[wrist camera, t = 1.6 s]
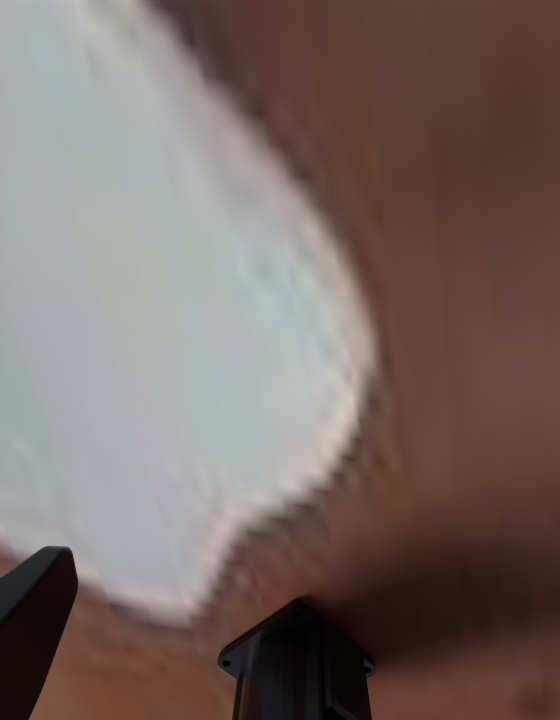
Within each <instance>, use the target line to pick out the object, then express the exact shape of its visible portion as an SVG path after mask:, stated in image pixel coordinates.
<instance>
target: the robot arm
mask: <svg viewBox="0 0 560 720" xmlns="http://www.w3.org/2000/svg"><path fill="white" fill-rule="evenodd" d="M77 591H78V578H77V573H76V568H75V563H74V558H73V553H72V550H71V549H70V548H69V547H65V546H46V547H44V548H42V549H40V550H39V551H37V552H36V553H35V554H33V555H32V556H30V557H29V558H27V559H26V560H25V561H23V562H22V563H20V564H19V565H18V566H16V567H15V568H13V569H12V570H10V571H9V572H8V573H6V574H5V575H3V576H2V577H1V578H0V720H29V717H30V715H31V713H32V711H33V709H34V707H35V704H36V702H37V700H38V698H39V695H40V693H41V691H42V688H43V686H44V683H45V680H46V678H47V675H48V673H49V670H50V667H51V664H52V662H53V659H54V656H55V653H56V650H57V648H58V645H59V642H60V639H61V637H62V634H63V631H64V628H65V626H66V623H67V620H68V617H69V614H70V612H71V609H72V606H73V603H74V601H75V598H76V595H77ZM218 665H219V666H220V667H221V668H222V669H223V670H225V671H226V672H227V673H229V674H230V675H232V676H233V677H234V678H236V679H237V686H236V694H235V702H234V710H233V717H232V720H372V717H371V709H370V702H369V695H368V687H367V680H366V679H367V678H368V677H370V676H372V675H373V674H374V673H375V672H376V668H375V661H374V660H373V659H372V658H371V657H370V656H368V655H367V654H366V653H365V652H364V651H362V650H361V649H360V648H359V647H358V646H356V645H355V644H354V643H353V642H351V641H350V640H349V639H348V638H346V637H345V636H344V635H343V634H342V633H340V632H339V631H338V630H337V629H335V628H334V627H333V626H332V625H330V624H329V623H328V622H327V621H326V620H324V619H323V618H322V617H321V616H319V615H318V614H317V613H316V612H314V611H313V610H312V609H311V608H310V607H308V606H307V605H306V604H304V603H303V602H294V603H292V604H290V605H289V606H287V607H286V608H284V609H283V610H281V611H280V612H278V613H277V614H276V615H274V616H273V617H271V618H270V619H268V620H267V621H265V622H264V623H262V624H261V625H259V626H258V627H257V628H255V629H254V630H252V631H251V632H249V633H248V634H246V635H245V636H243V637H242V638H240V639H239V640H238V641H236V642H235V643H233V644H232V645H230V646H229V647H227V648H226V649H224V650H223V651H221V652H220V653H219V658H218Z"/></svg>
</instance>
